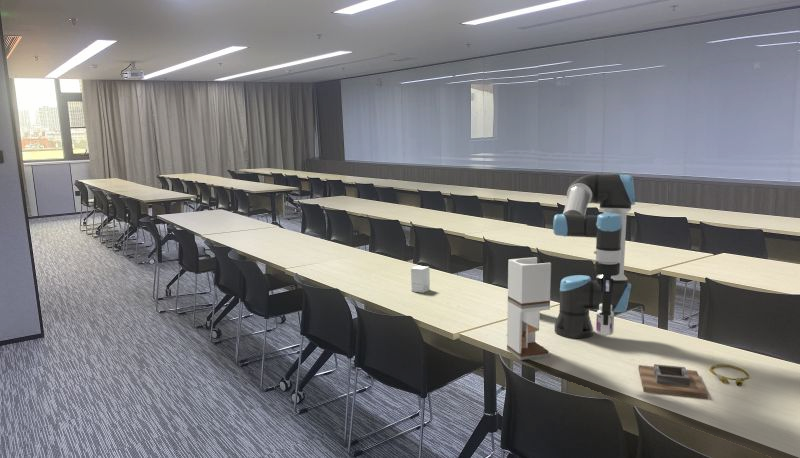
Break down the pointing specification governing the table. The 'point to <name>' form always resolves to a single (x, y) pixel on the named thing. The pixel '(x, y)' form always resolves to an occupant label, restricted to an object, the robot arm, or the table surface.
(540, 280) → the white notched tower
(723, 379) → the gold torc necklace
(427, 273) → the supplement box
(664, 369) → the socket block
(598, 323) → the pill bottle
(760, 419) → the table surface
